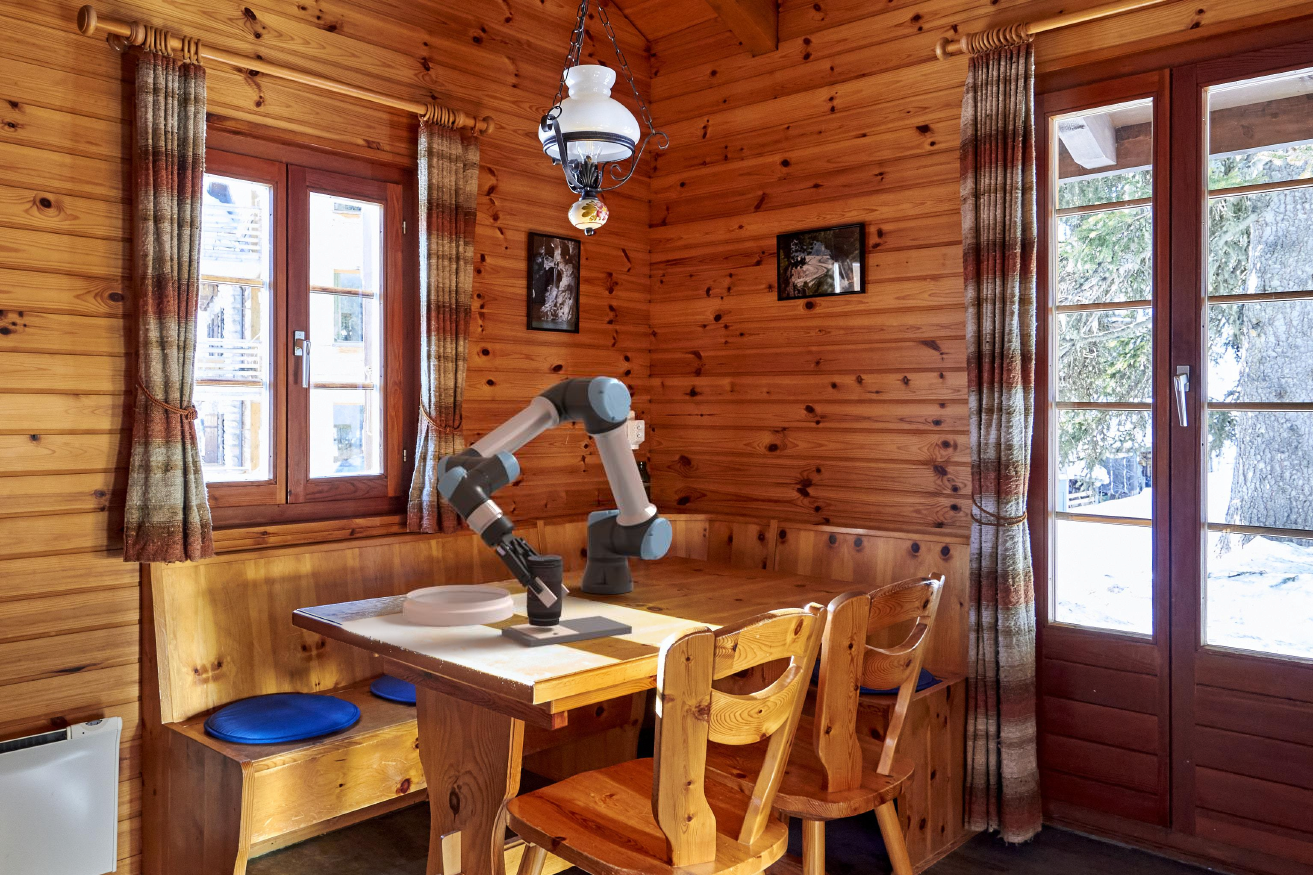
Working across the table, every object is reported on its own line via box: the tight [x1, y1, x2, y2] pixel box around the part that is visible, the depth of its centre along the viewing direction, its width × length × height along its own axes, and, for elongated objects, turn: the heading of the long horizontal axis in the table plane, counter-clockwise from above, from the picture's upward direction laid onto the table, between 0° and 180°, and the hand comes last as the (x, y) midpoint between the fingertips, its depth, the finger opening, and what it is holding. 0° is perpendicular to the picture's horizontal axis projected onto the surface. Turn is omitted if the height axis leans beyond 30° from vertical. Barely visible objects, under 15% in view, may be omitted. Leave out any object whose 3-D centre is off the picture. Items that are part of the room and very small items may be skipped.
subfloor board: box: [501, 615, 633, 648], centre depth 212 cm, size 26×14×2 cm, turn 125°
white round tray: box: [402, 584, 515, 627], centre depth 232 cm, size 27×27×6 cm
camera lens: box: [526, 554, 564, 627], centre depth 208 cm, size 8×8×15 cm
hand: (558, 599), depth 208 cm, fingers closed on camera lens, 8 cm apart
